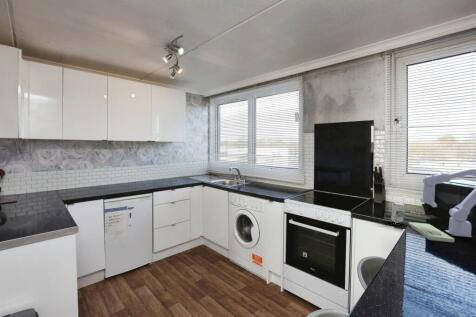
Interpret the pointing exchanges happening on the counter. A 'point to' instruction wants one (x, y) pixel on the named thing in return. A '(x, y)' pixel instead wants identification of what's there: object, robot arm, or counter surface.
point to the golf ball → (435, 232)
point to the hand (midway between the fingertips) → (427, 215)
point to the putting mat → (426, 231)
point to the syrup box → (397, 212)
